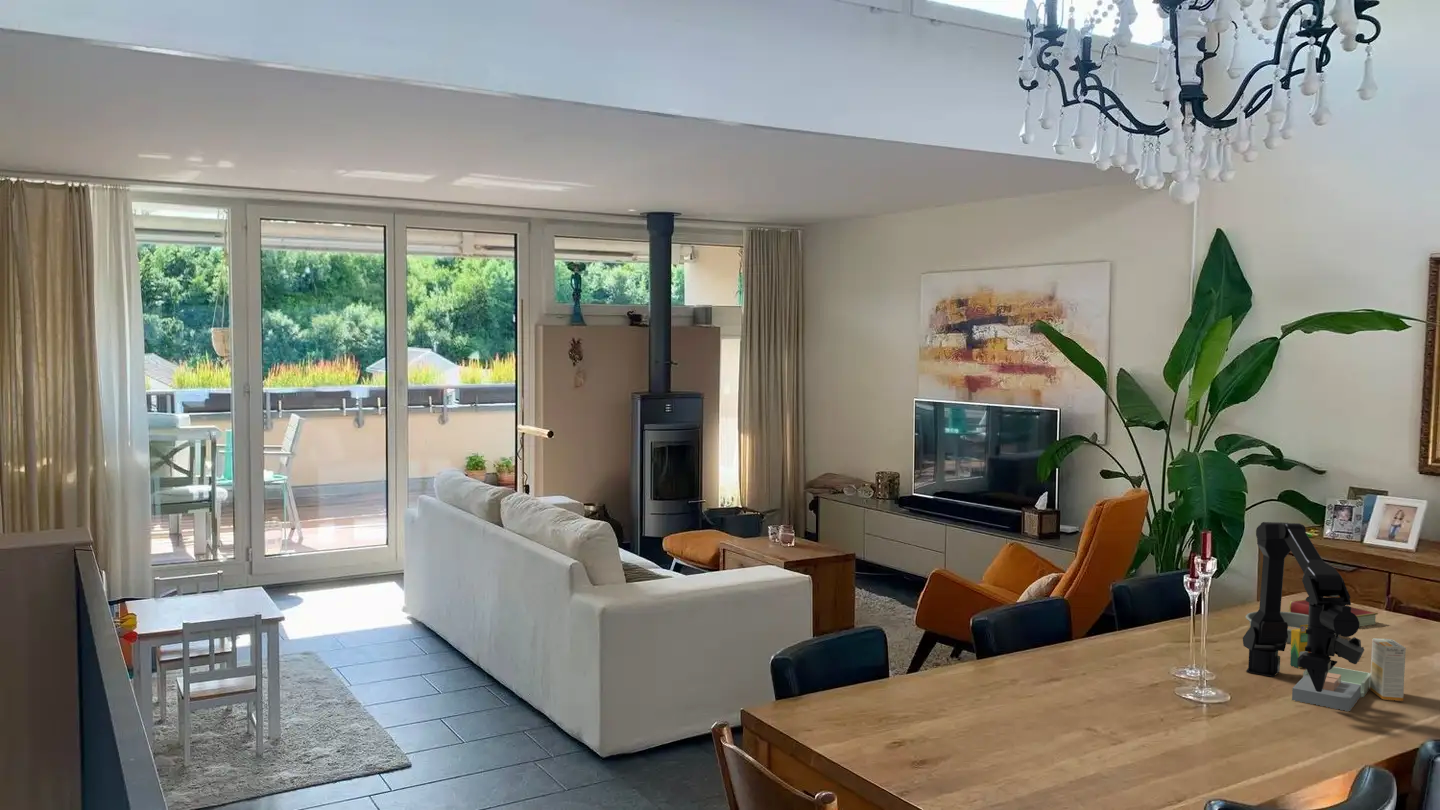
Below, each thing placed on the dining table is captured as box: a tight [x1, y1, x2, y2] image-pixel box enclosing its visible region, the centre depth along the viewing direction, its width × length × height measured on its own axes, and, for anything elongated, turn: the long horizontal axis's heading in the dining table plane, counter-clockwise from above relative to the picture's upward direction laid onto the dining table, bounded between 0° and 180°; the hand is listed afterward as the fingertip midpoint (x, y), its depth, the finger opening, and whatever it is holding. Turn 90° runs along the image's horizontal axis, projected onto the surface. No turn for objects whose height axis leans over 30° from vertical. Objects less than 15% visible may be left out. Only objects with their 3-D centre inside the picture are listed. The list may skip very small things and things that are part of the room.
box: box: [1302, 666, 1371, 698], centre depth 269 cm, size 13×11×4 cm
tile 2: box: [1327, 673, 1341, 687], centre depth 262 cm, size 4×4×2 cm
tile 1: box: [1323, 677, 1338, 691], centre depth 258 cm, size 4×4×2 cm
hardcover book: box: [1288, 598, 1379, 627], centre depth 339 cm, size 12×21×4 cm, turn 24°
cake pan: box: [1245, 610, 1309, 644], centre depth 318 cm, size 25×25×4 cm
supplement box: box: [1369, 638, 1407, 702], centre depth 262 cm, size 8×5×13 cm, turn 168°
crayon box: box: [1289, 624, 1311, 669], centre depth 286 cm, size 7×3×12 cm, turn 108°
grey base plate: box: [1291, 675, 1361, 712], centre depth 259 cm, size 12×14×3 cm
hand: (1319, 691), depth 252 cm, fingers closed
